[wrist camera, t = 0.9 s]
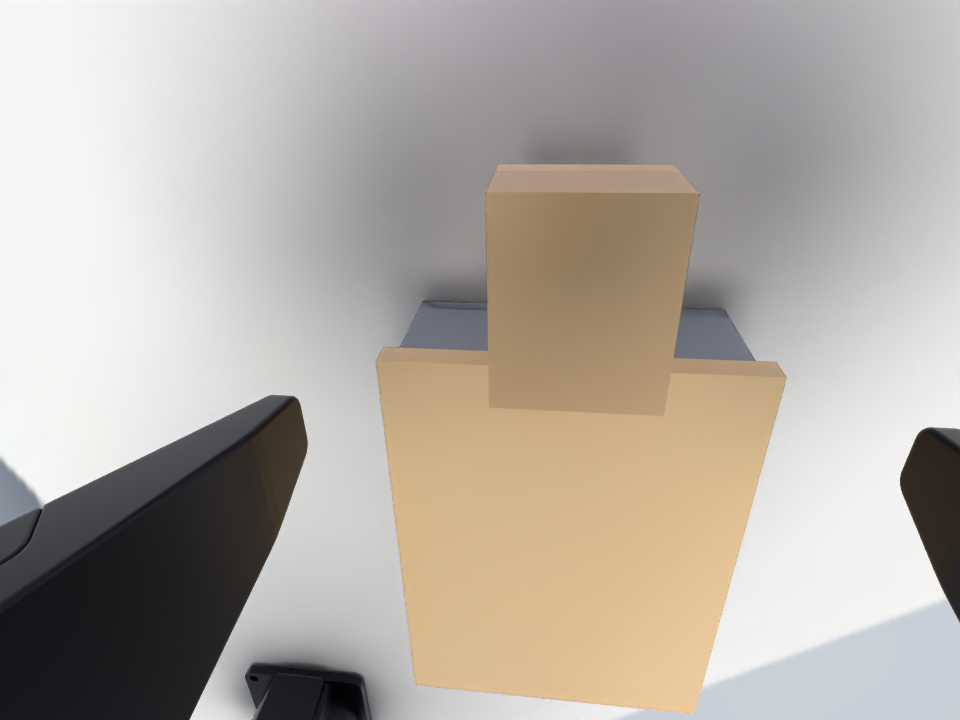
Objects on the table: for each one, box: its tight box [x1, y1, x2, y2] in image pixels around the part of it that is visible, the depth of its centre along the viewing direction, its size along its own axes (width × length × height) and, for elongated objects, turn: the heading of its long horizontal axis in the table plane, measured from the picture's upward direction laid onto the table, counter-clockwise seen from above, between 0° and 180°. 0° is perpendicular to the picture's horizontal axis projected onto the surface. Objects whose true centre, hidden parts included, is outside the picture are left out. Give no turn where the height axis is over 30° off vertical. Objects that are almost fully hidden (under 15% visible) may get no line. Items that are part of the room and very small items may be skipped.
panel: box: [399, 301, 755, 361], centre depth 21 cm, size 14×10×4 cm
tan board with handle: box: [376, 164, 787, 714], centre depth 17 cm, size 20×11×3 cm, turn 1°
